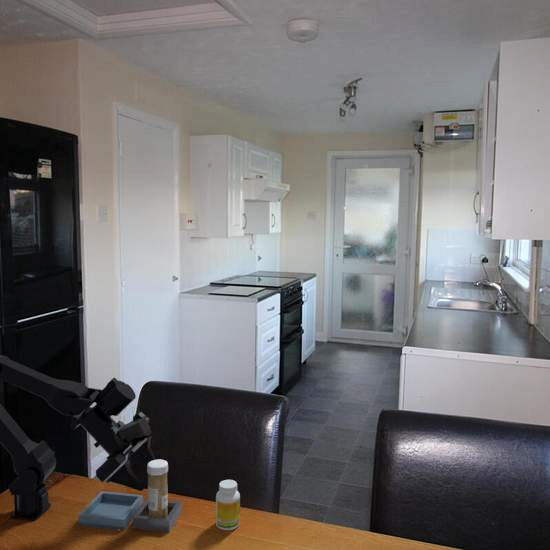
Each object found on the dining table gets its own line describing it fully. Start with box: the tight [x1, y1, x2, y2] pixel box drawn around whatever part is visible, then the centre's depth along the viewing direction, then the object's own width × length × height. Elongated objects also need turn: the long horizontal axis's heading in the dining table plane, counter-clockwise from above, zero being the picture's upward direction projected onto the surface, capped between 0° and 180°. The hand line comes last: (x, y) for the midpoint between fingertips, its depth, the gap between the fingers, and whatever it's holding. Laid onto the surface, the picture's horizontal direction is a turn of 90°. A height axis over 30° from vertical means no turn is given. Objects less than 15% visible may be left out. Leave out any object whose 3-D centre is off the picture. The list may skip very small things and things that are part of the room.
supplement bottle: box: [215, 479, 241, 531], centre depth 120 cm, size 5×5×10 cm
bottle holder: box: [132, 497, 183, 533], centre depth 121 cm, size 8×8×2 cm
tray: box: [78, 490, 144, 531], centre depth 123 cm, size 11×11×2 cm
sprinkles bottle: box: [146, 458, 169, 518], centre depth 121 cm, size 5×5×14 cm
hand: (151, 479), depth 121 cm, fingers open, 9 cm apart
